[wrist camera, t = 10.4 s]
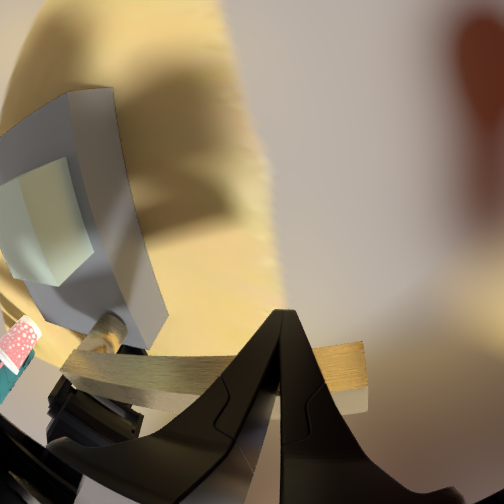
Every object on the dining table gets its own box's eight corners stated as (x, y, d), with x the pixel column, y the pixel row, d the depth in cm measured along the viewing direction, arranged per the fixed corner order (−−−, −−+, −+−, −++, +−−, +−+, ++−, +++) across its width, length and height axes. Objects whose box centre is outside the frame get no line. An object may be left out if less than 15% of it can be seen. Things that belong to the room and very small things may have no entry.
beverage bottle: (17, 330, 37) (-31, 395, 20) (18, 321, 34) (-36, 394, 17) (38, 352, 39) (-7, 420, 22) (41, 346, 36) (-9, 422, 19)
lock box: (168, 315, 22) (149, 350, 18) (65, 298, 24) (45, 321, 21) (112, 87, 13) (67, 91, 9) (12, 140, 15) (-20, 154, 12)
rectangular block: (94, 252, 14) (58, 286, 11) (43, 251, 15) (13, 277, 13) (65, 156, 11) (18, 178, 8) (18, 175, 12) (-18, 195, 10)
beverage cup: (34, 335, 34) (-5, 389, 23) (16, 309, 31) (-28, 363, 20) (49, 341, 33) (8, 401, 21) (30, 313, 30) (-19, 374, 18)
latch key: (113, 337, 18) (78, 391, 13) (95, 314, 17) (55, 367, 12) (357, 316, 13) (367, 413, 8) (352, 279, 12) (368, 383, 7)
